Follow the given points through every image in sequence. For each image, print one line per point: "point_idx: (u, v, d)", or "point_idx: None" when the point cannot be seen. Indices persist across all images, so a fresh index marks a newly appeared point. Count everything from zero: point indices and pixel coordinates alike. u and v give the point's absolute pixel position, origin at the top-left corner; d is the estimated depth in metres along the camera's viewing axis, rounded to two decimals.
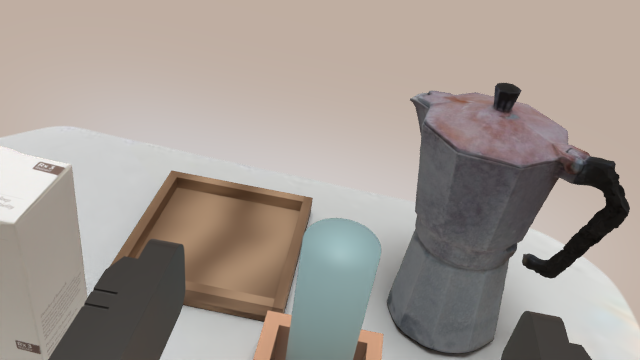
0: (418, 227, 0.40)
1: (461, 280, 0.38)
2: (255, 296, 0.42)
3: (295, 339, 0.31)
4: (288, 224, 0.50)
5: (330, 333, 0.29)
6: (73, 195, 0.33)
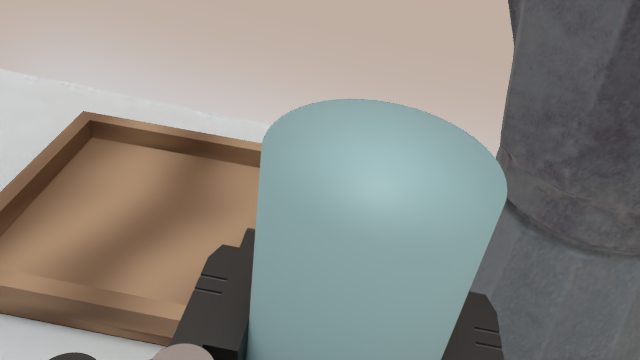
0: None
1: (596, 277, 0.19)
2: None
3: None
4: None
5: None
6: None
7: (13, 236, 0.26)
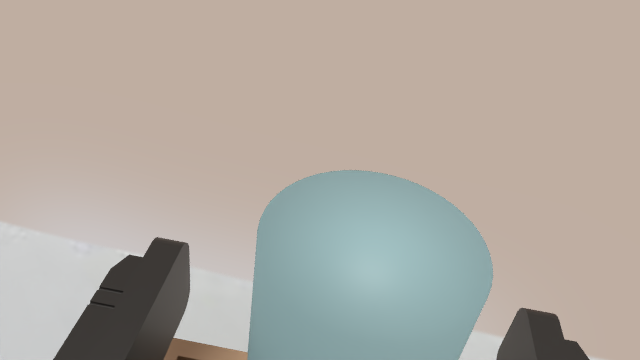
0: None
1: None
2: None
3: None
4: None
5: None
6: None
7: None
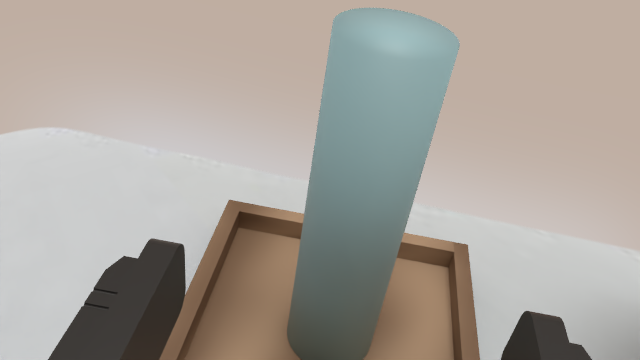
0: None
1: None
2: None
3: (316, 207, 0.20)
4: (435, 292, 0.29)
5: (373, 184, 0.18)
6: None
7: None
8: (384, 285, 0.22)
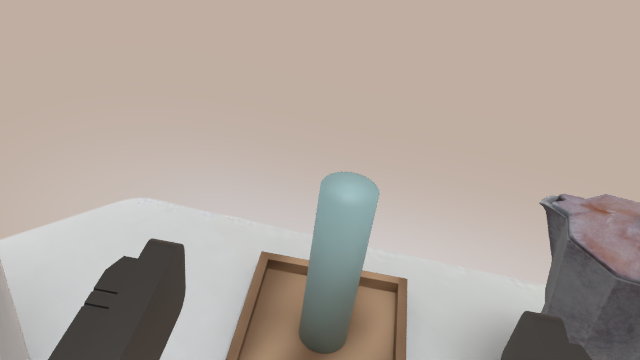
0: None
1: None
2: None
3: (314, 267, 0.40)
4: (386, 308, 0.49)
5: (341, 258, 0.38)
6: None
7: (249, 349, 0.44)
8: (350, 306, 0.42)
